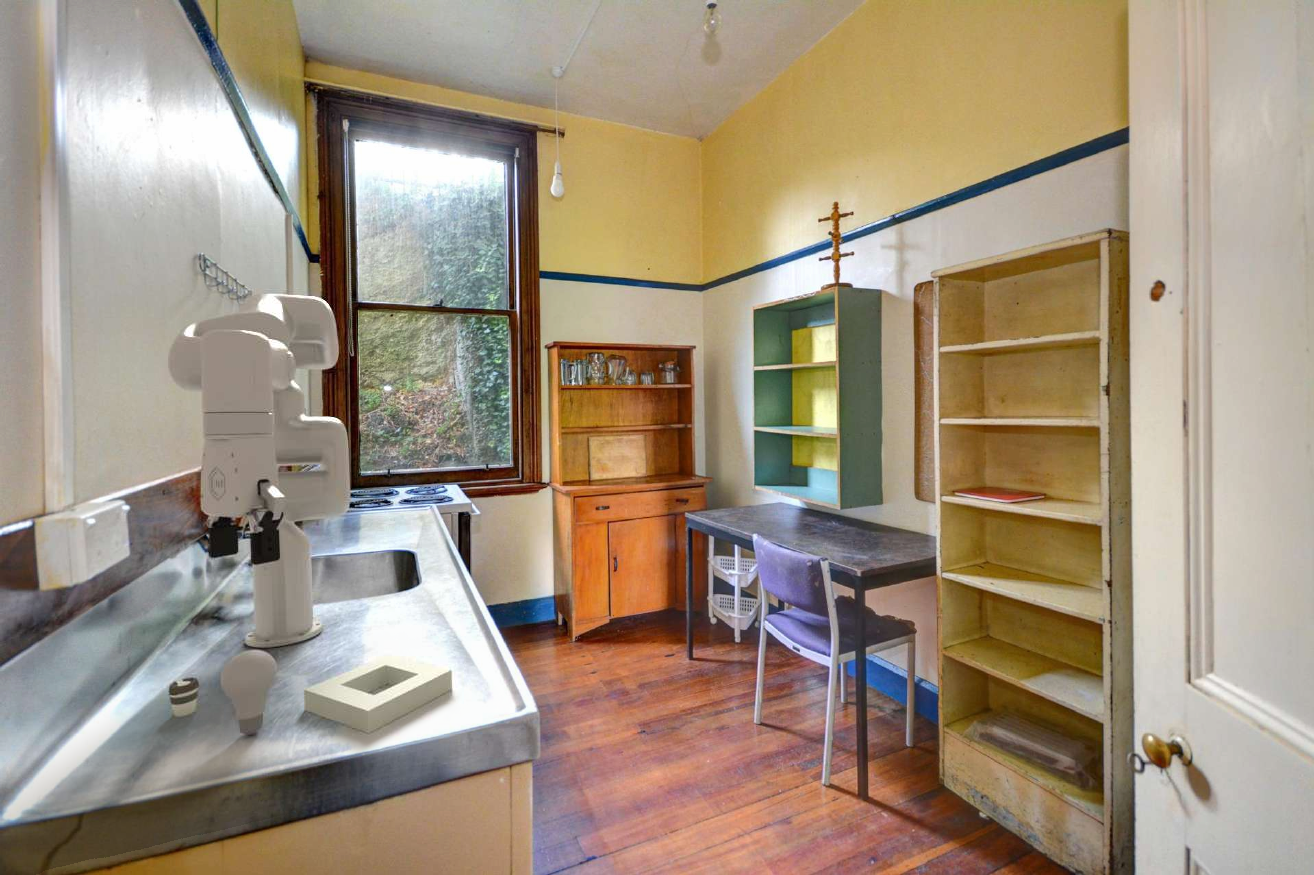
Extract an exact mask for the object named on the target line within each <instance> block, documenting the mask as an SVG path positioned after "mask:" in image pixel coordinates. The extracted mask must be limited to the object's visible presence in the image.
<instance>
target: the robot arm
mask: <svg viewBox="0 0 1314 875" xmlns="http://www.w3.org/2000/svg"><path fill="white" fill-rule="evenodd" d="M337 330H338V328H337V323H336V318H335V314H334V313H333V310H332V308H331V307H330V305H329V303H327V302H326V301H325V300H324V299H322V298H319V297H316V296H310V295H308V296H307V295H293V294H279V293H259V294H258V293H257V294H253V295H250V296H249V297H247V298H246V299H244V300H243V301H242V303H241V304H240V306H239V307H238V309H237V311H236V312H235V313H230V314H226V315H223V316H218V317H213V318H209V319H208V318H207V319H204V320H200V321H196V322H193V323H190V324H188V325H186V326H184V327H183V329H181V330H180V332H178V335H177V336H176V337H175V338H174V340H173V342H172V343H171V346H170V348H169V351H168V356H167V366H168V372H169V375H170V377H171V379H172V380H173V382H175V384H176V385H177V386H179V387H180V388H181V389H183V390H186V391H190V392H196V393H197V392H198V393H200V392H201V404H202V433H203V434H202V435H203V440H204V442H203V448H202V455H201V456H202V457H201V468H200V469H201V470H200V510H201V511H202V512H203V514H205V515H206V516H207V519H206V526H207V527H208V542H209V543H208V544H209V545H208V546H209V547H208V548H209V557H210V558H213V559H217V558H223V557H228V556H234V555H237V554H238V553H239V529H238V528H239V527H238V524H237V523H236V524H234V522H235V521H236V519H238V518H239V519H240V518H242V517H244V516H245V515H246V518H247V519H248V525H249V530H250V533H249V537H250V538H249V540H250V541H249V542H250V545H249V546H250V548H249V549H250V563H251V566H252V587H253V614H251V616H250V621H252V622H254V629H253V630H252V631H250V632H248V633H247V634H246V636H244V637H245V638H244V640H245V641H244V642H245V644H246V645H247V646H248V647H252V648H260V649H261V648H262V649H263V648H274V647H281V646H282V647H285V646H288V645H293V644H296V643H302V642H304V641H307V640H309V639H312V638H314V637H316V636H318V635H319V634H320V633H322V631H323V629H324V628H323V627H324V625H323V624H324V623H323V622H322V621H320V620H317V619H314V603H313V602H314V600H313V577H312V576H313V574H312V572H313V570H312V569H313V568H312V545H311V541H310V539H309V537H308V536H307V535H306V533H305V532H304V531H303V530H302V529H300V527H298V526H297V525H296V524H295V522H296V523H297V522H302V521H308V520H309V521H310V520H321V519H332V518H333V519H334V518H339V517H342V516H343V515H345V514H347V513H348V510H349V508H350V504H351V479H350V478H351V476H350V454H349V453H350V452H349V449H350V448H349V440H348V439H349V438H348V432H347V428H346V427H345V424H344V423H343V421H342V420H341V419H338V418H336V417H331V416H306V414H305V412H306V411H305V394H304V391H303V390H302V389H301V387H300V386H299V385H298V384H297V383H296V382H295V381H294V379H295V377H296V375H297V370H328V369H331V368H333V367H334V366H335V365H336V364H337V362H338V358H339V354H340V352H339V351H340V350H339V349H340V346H339V339H338V331H337ZM308 465H311V466H312V465H319V466H321V467H323V469H324V470H322V469H321V470H303V471H302V470H301V471H300V470H294V471H292V470H291V471H290V470H289V471H278V467H279V466H283V467H284V466H285V467H287V466H308Z"/></svg>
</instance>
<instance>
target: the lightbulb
mask: <svg viewBox="0 0 1314 875" xmlns="http://www.w3.org/2000/svg"><path fill="white" fill-rule="evenodd" d="M277 672H278V667H277V662H276V660H275V659H274V657H273V656H272V655H271V654H269V653H268V652H267V651H265V650H260V649H249V650H244V651H242V652H239V653H238V654H235V655H234V656H233V657H231V659H229V660H228V661H227V663H225V665H224V667H223V668H222V671H221V673H220V680H219V681H220V682H219V683H220V687H221V689H222V691H223V692H224V694H225V695H226V696H227V697H228V698H229V699H230V701H231V702H232V704H233V707H234V711H235V717H236V718H237V719H238V726H239V732H240V733H241V734H243V735H247V736H252V735H254V734H256V733H257V732H258V731H260V730H261V729H262V728H263V726H264V712H265V710H266V702H267V696H268V695H269V691H270V690H271V687H272V686H273V684H274V681H275V680H276V678H277Z"/></svg>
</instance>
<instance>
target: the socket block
mask: <svg viewBox="0 0 1314 875" xmlns="http://www.w3.org/2000/svg"><path fill="white" fill-rule="evenodd" d="M452 672H453V671H452V669H450V668H447V667H441V666H438V665H434V664H430V663H426V662H422V661H418V660H415V659H411V658H406V657H404V656H399V655H396V654H392V653H388V654H387V655H385V656H384V655H383V656H382V657H379V658H377V659H374V660H372V661H370V662H367V663H364V664H362V665H360V666H358V667H357V666H356V667H355V668H353V669H350V670H348V671H346V672H343V673H341V674H338V675H335V676H333V677H331V678H329V679H325V680H324V681H321V682H318V683H316V684H313V685H311V686H309V687H306V688H304V689H303V696H304V697H303V699H304V700H303V701H304V711H306V712H309V713H311V714H314V715H317V716H319V717H322V718H325V719H328V720H330V721H334V722H336V723H339V724H342V725H345V726H348V727H349V728H350V727H351V728H353V729H355V730H359V731H361V732H364V733H367V734H371V733H372V732H374V731H376V730H378V729H380V728H382V727H384V726H385V725H388V724H389V723H391V722H393V721H395V720H397V719H399V718H401V717H402V716H403V717H404V715H406V714H408V713H410V712H412V711H414V710H416V709H417V708H420V707H421V706H423V705H425V704H427V703H429V702H431V701H433V700H435V699H437V698H438V697H441V696H443V695H445V694H446V693H448V692H450V691H452V690H453V675H452V674H453V673H452ZM385 685H388V686H391V687H389V688H386V689H384V690H382V691H380V692H378V693H375V694H371V693H370V692H373V691H375V690H377V689H379V688H381V687H383V686H385Z"/></svg>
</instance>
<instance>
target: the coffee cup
mask: <svg viewBox="0 0 1314 875" xmlns="http://www.w3.org/2000/svg"><path fill="white" fill-rule="evenodd" d="M199 687H200V684H199V680H198V678H196V677H186V678H180V679H179V680H177V681H176V680H173V682H171V684H169V688H168V696H169V699H170V704H171V709H172V714H173V717H176V718H179V717H185V716H188V715H191V714H194V713H195V712H196V710H197V700H198V696H199V689H198V688H199Z"/></svg>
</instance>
